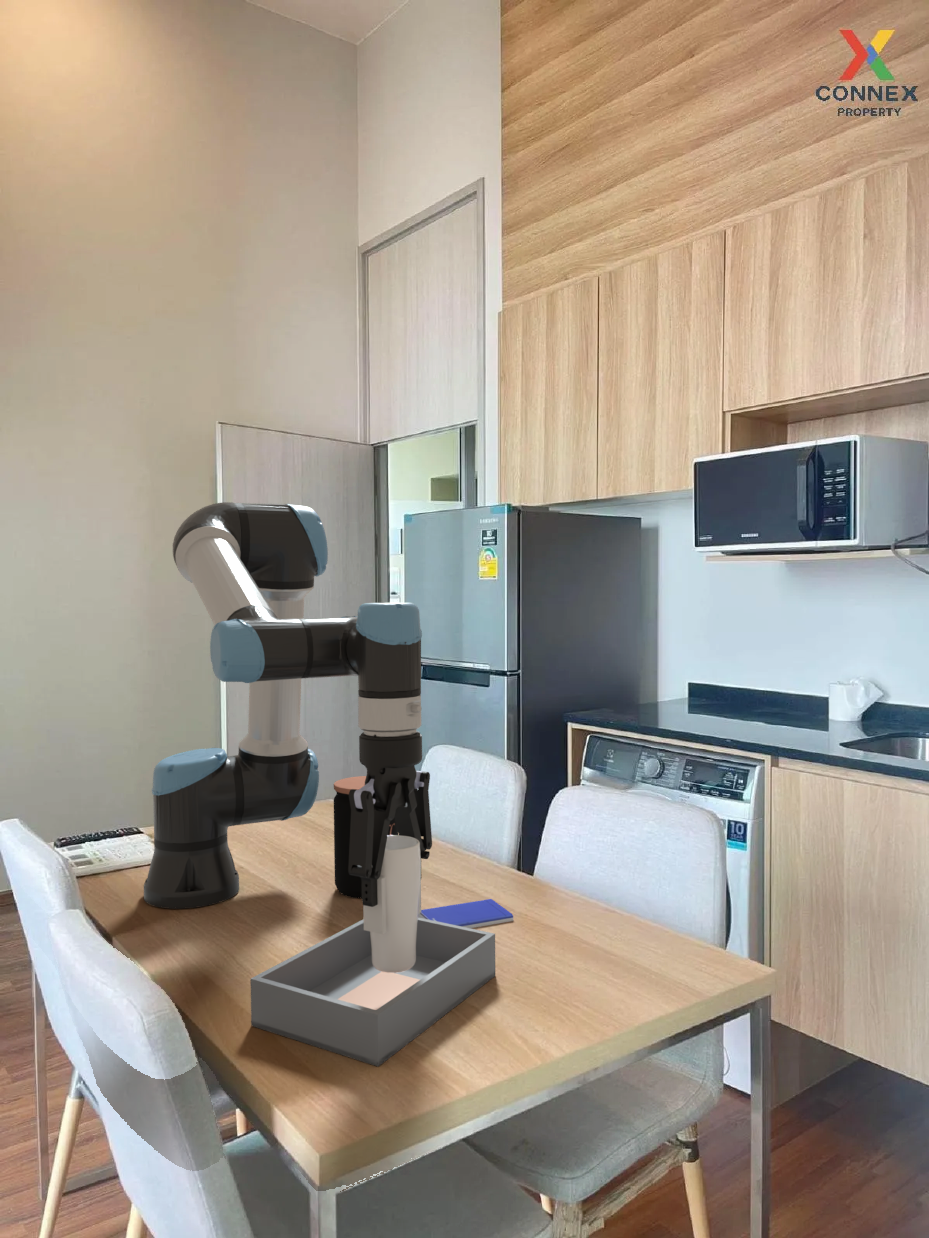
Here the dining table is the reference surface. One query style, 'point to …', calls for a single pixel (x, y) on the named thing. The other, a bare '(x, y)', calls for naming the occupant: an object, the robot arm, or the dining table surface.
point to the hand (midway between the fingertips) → (393, 920)
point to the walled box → (370, 990)
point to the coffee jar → (347, 836)
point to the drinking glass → (399, 906)
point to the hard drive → (469, 914)
